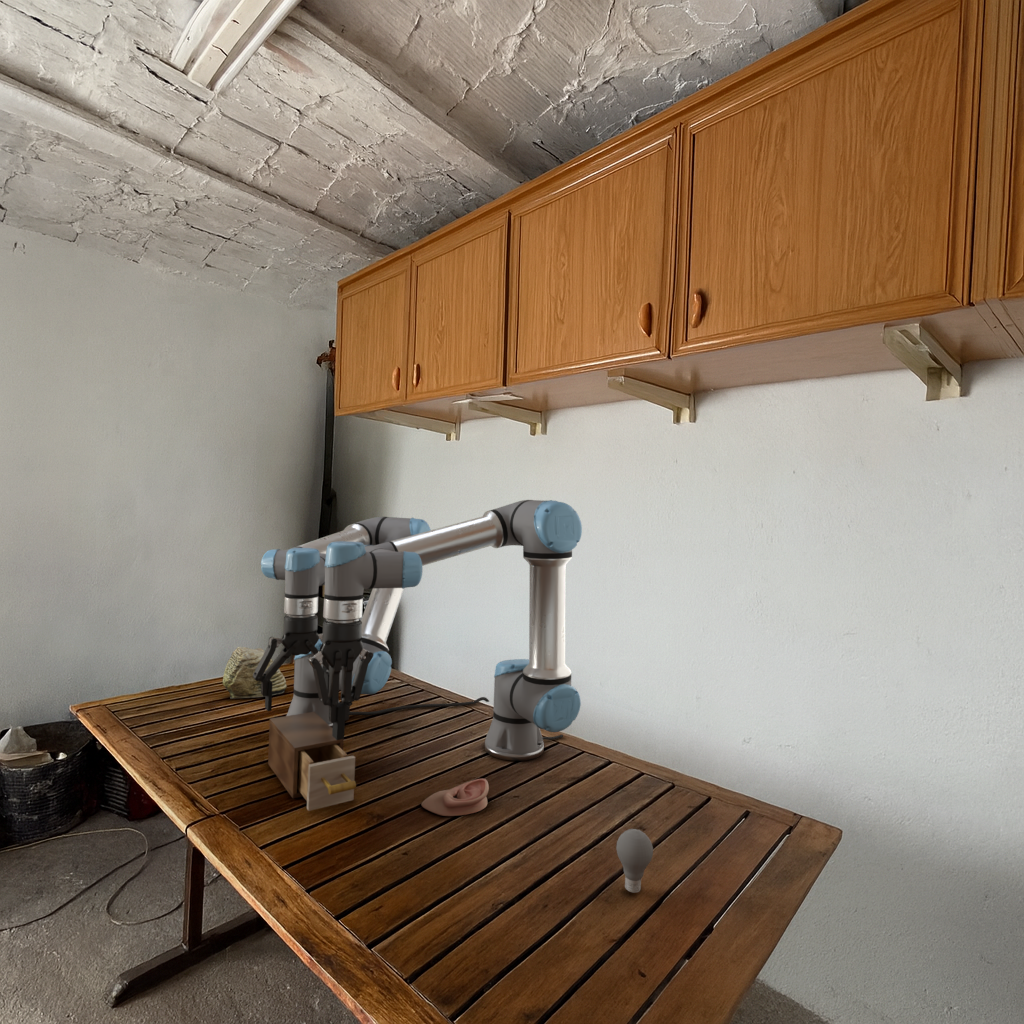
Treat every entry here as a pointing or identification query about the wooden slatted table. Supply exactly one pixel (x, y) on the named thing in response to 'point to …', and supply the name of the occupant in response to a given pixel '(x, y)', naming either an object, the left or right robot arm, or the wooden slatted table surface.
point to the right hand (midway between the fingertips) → (338, 737)
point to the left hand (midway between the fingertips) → (298, 704)
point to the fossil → (248, 674)
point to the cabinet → (295, 744)
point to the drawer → (325, 776)
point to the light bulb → (634, 857)
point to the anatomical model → (459, 799)
